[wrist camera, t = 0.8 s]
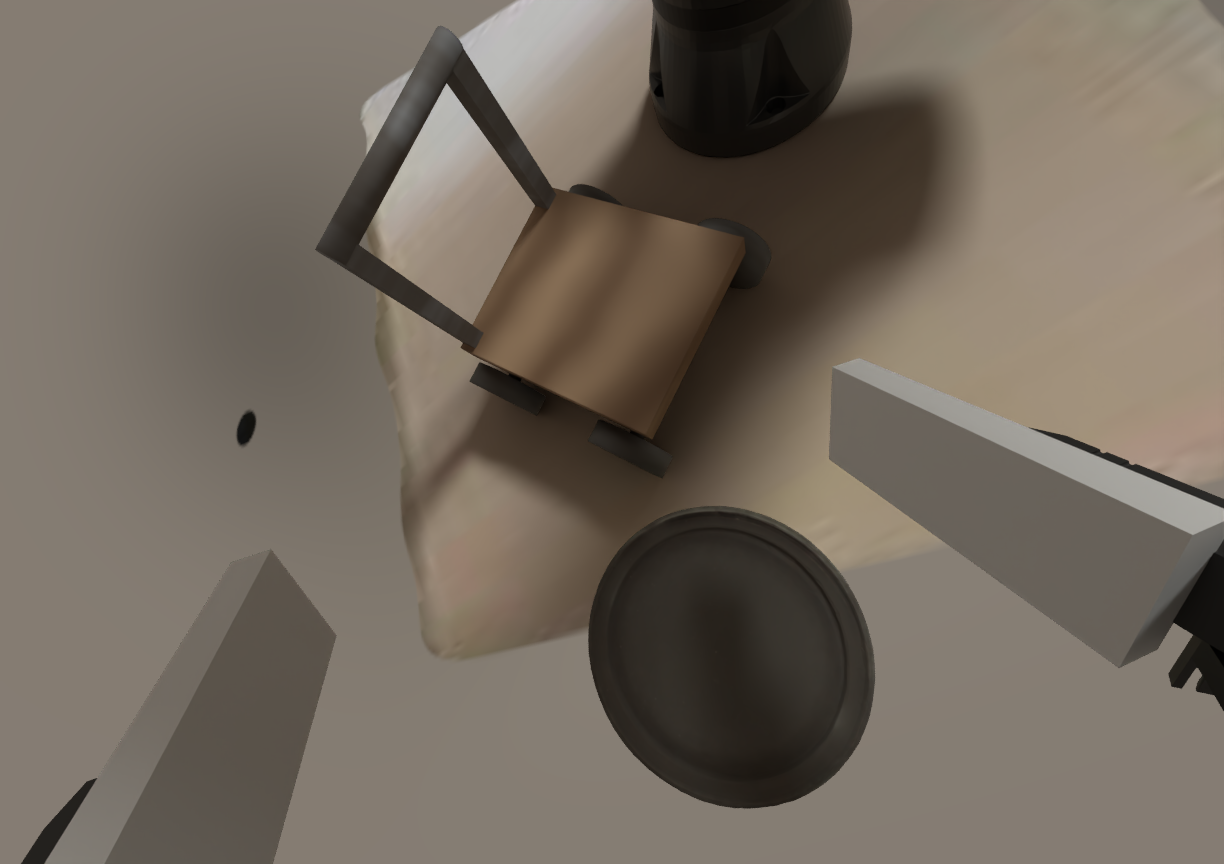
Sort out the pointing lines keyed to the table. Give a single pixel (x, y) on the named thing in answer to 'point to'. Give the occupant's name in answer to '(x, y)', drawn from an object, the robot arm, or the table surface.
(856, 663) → the coffee can
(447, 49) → the trolley
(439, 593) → the table surface
